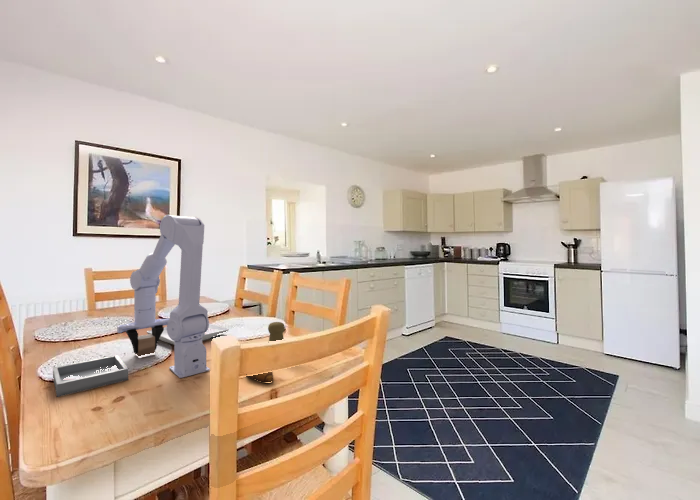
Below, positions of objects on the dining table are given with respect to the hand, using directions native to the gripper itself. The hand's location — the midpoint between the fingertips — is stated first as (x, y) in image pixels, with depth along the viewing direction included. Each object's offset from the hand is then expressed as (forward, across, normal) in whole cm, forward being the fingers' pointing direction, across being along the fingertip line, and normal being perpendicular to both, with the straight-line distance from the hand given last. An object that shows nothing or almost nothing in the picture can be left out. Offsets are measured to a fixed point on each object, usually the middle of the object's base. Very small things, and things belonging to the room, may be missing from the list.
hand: (145, 350), depth 104 cm
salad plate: (+2, -17, -11) cm, 20 cm away
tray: (+1, +15, +11) cm, 19 cm away
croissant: (+2, -18, +39) cm, 43 cm away
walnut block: (+1, 0, 0) cm, 1 cm away
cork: (+2, -30, +29) cm, 42 cm away
